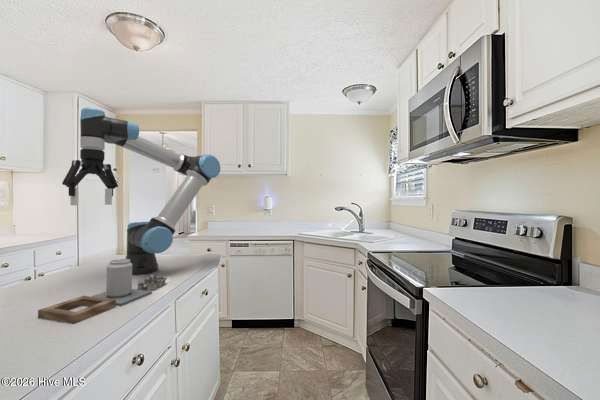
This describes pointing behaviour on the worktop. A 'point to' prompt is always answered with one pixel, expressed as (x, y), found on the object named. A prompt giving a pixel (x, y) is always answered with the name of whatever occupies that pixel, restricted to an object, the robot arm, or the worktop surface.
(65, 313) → the frame
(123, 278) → the can
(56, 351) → the worktop surface
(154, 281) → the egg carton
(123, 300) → the mat
